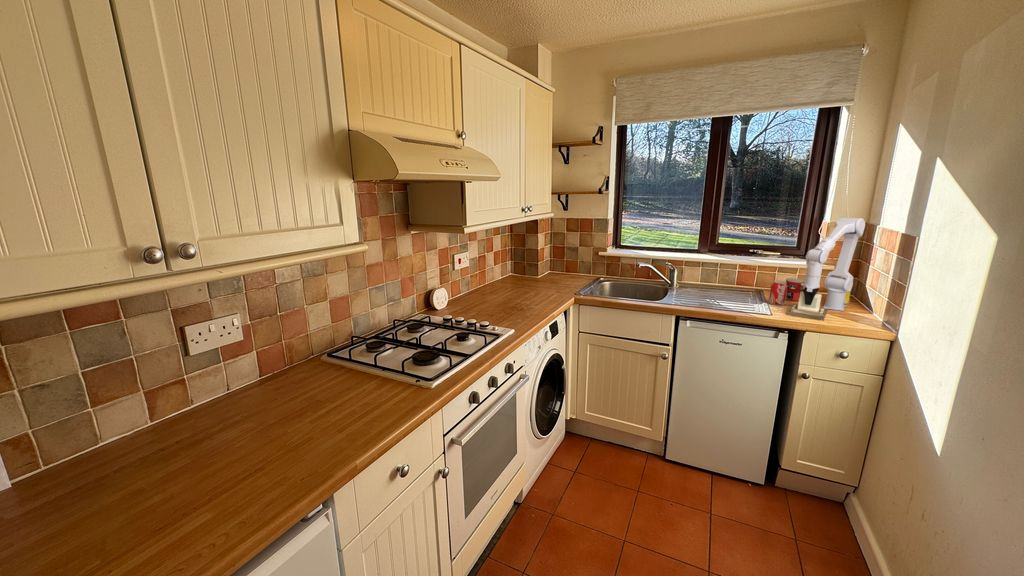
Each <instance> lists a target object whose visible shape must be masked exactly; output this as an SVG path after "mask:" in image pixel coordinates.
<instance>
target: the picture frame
mask: <svg viewBox="0 0 1024 576" xmlns="http://www.w3.org/2000/svg"><path fill="white" fill-rule="evenodd" d="M821 301H822V294H819V293H816V295H815V296H814V298H813V301H812V304H811V305H806V304H805V296H804V293H803V292H801V293H800V298H799V302H798V303H797V304H798V308H797V309H801V310H808V311H814V312H819V307H820V306H821ZM820 308H821V307H820Z"/></svg>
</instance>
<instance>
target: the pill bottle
mask: <svg viewBox="0 0 1024 576" xmlns="http://www.w3.org/2000/svg"><path fill="white" fill-rule="evenodd" d="M851 293H852V289H851V290H849V291H848V292H846V296H845V301H844V306H845V307H847V306H849V303H850V299H851Z"/></svg>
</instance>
